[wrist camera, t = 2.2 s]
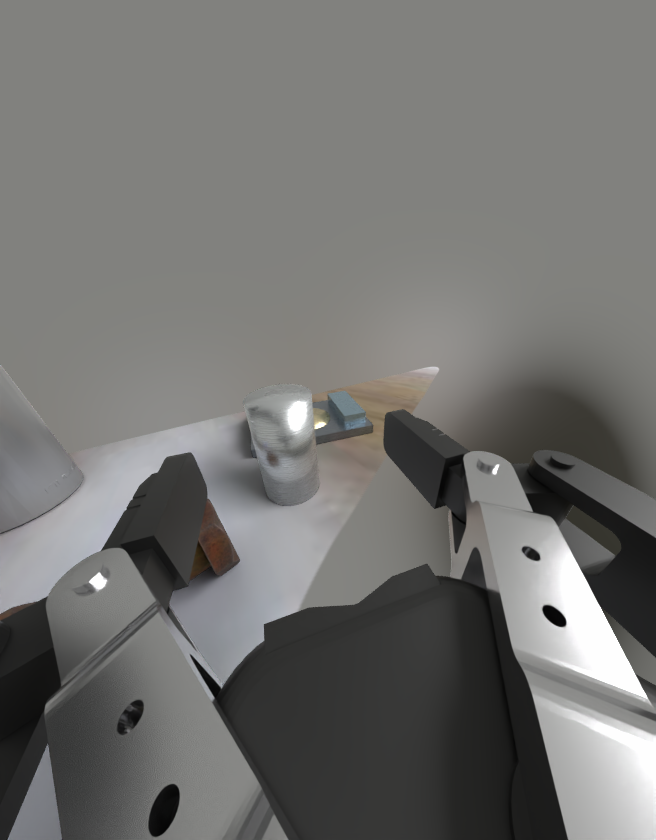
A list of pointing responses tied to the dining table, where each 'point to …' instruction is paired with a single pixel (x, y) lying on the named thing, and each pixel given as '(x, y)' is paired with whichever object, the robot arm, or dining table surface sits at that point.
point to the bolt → (197, 551)
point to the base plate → (337, 419)
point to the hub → (284, 441)
